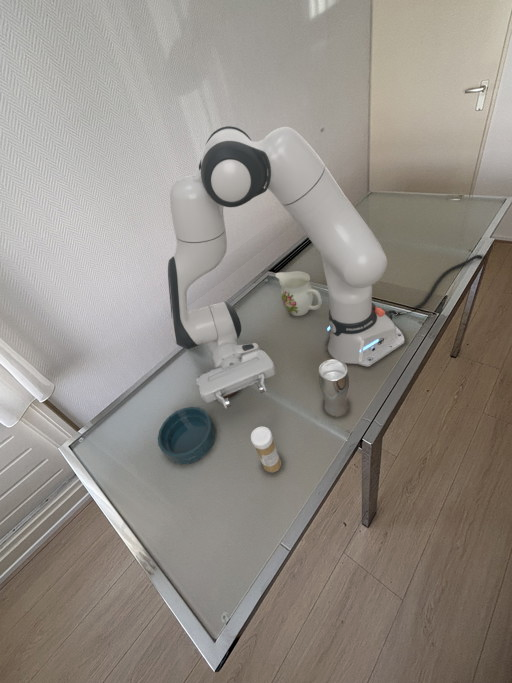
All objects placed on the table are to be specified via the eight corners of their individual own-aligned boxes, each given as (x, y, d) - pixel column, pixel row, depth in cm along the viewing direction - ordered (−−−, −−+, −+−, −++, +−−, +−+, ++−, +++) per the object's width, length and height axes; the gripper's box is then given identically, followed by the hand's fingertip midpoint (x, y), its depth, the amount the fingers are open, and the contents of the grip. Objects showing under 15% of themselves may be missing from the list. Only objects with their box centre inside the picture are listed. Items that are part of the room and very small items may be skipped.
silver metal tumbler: (350, 419, 81) (348, 381, 71) (322, 417, 83) (316, 381, 73) (349, 396, 85) (348, 358, 75) (323, 395, 87) (318, 358, 77)
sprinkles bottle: (262, 457, 78) (249, 428, 69) (280, 453, 78) (269, 423, 69) (264, 475, 75) (251, 447, 66) (283, 471, 75) (272, 442, 66)
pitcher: (314, 327, 108) (310, 294, 99) (273, 312, 119) (266, 281, 110) (331, 308, 113) (328, 275, 104) (290, 296, 124) (285, 265, 115)
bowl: (209, 409, 93) (204, 399, 89) (222, 451, 82) (216, 441, 79) (162, 429, 91) (155, 419, 88) (169, 474, 80) (160, 465, 77)
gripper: (190, 369, 85) (201, 407, 75) (261, 340, 87) (281, 374, 77) (198, 384, 89) (209, 422, 79) (266, 356, 91) (285, 390, 81)
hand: (245, 398), depth 78 cm, fingers open, 8 cm apart
